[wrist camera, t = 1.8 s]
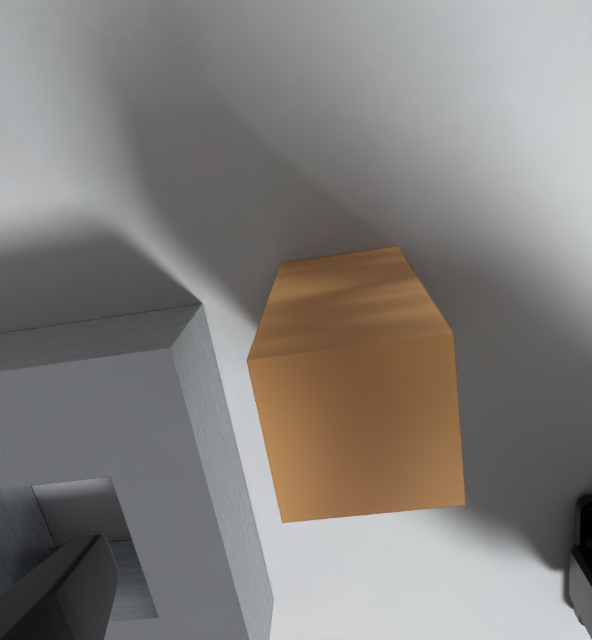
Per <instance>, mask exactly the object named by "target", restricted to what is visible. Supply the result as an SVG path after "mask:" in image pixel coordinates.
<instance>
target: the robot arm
mask: <svg viewBox="0 0 592 640" xmlns="http://www.w3.org/2000/svg"><path fill="white" fill-rule="evenodd" d="M590 507H592V494H587V495H584V496H582V497H581V498H579V500H578V501H577V503H576V515H575V545H573V546H572V548H571V550H570V558H569V596H570V599H571V601H572V602H573V604H574V612H575V615H576V617H577V619H578V621H579V622H580V623H581V624H582V625H584V626H585V627H586V629H587V631H588V633H589V635H590V637H591V638H592V509H590V510H588V509H589V508H590ZM118 583H119V571H118V567H117V564H116V562H115V559H114V556H113V553H112V551H111V548H110V545H109V542H108V540H107V538H106V536H105V535H104V534H103V533H88V534H81V535H78V536H76V537H75V538H73V539H72V540H71V541H70V542H68V543H67V544H66V545H64V546H63V547H62V548H61V549H59V550H58V551H57V552H55V553H54V554H53V555H52V556H50V557H49V558H48V559H46V560H45V561H44V562H42V563H41V564H40V565H39V566H37V567H36V568H35V569H33V570H32V571H31V572H30V573H28V574H27V575H26V576H24V577H23V578H22V579H21V580H19V581H18V582H17V583H15V584H14V585H13V586H11V587H10V588H9V589H8V590H6V591H5V592H4V593H2V594H1V595H0V640H104V639H105V635H106V631H107V627H108V623H109V619H110V615H111V612H112V608H113V604H114V600H115V596H116V592H117V588H118Z"/></svg>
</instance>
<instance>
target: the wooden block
mask: <svg viewBox="0 0 592 640" xmlns="http://www.w3.org/2000/svg"><path fill="white" fill-rule="evenodd" d="M247 364H248V369H249V374H250V378H251V383H252V387H253V392H254V396H255V401H256V405H257V410H258V415H259V419H260V424H261V428H262V433H263V437H264V442H265V447H266V451H267V456H268V460H269V465H270V469H271V474H272V479H273V483H274V488H275V492H276V497H277V501H278V506H279V510H280V515H281V520H282V523H286V522H297V521H307V520H317V519H328V518H338V517H348V516H359V515H369V514H379V513H390V512H400V511H410V510H421V509H431V508H441V507H452V506H462V505H466V502H465V488H464V474H463V460H462V445H461V431H460V417H459V403H458V389H457V374H456V360H455V346H454V333H453V331H452V330H451V328H450V327H449V325H448V323H447V322H446V320H445V319H444V317H443V316H442V314H441V313H440V311H439V309H438V308H437V306H436V305H435V303H434V302H433V300H432V298H431V297H430V295H429V294H428V292H427V291H426V289H425V288H424V286H423V284H422V283H421V281H420V280H419V278H418V277H417V275H416V274H415V272H414V270H413V269H412V267H411V266H410V264H409V263H408V261H407V259H406V258H405V256H404V255H403V253H402V252H401V250H400V249H399V247H398V246H393V247H386V248H380V249H373V250H366V251H360V252H353V253H347V254H340V255H334V256H327V257H321V258H314V259H308V260H301V261H294V262H288V263H281V264H280V267H279V269H278V272H277V275H276V278H275V281H274V284H273V287H272V289H271V292H270V295H269V298H268V301H267V304H266V307H265V309H264V312H263V315H262V318H261V321H260V324H259V327H258V329H257V332H256V335H255V338H254V341H253V344H252V346H251V349H250V352H249V355H248V358H247Z"/></svg>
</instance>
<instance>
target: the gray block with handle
mask: <svg viewBox="0 0 592 640" xmlns="http://www.w3.org/2000/svg"><path fill="white" fill-rule="evenodd" d="M103 477H111V480H112V483H113V486H114V489H115V491H116V494H117V497H118V500H119V503H120V506H121V509H122V512H123V515H124V518H125V521H126V523H127V526H128V529H129V532H130V535H131V538H132V540H127V541H116V542H109V545H110V548H111V551H112V553H113V556H114V559H115V562H116V564H117V567H118V571H119V583H118V588H117V592H116V596H115V600H114V604H113V608H112V612H111V615H110V619H109V623H108V627H107V631H106V635H105V639H104V640H269V637H270V629H271V620H272V611H273V602H274V598H273V594H272V590H271V586H270V582H269V578H268V574H267V569H266V565H265V561H264V557H263V553H262V549H261V544H260V540H259V536H258V532H257V528H256V524H255V520H254V515H253V511H252V507H251V503H250V499H249V495H248V490H247V486H246V482H245V478H244V474H243V470H242V465H241V461H240V457H239V453H238V449H237V445H236V441H235V436H234V432H233V428H232V424H231V420H230V416H229V411H228V407H227V403H226V399H225V395H224V391H223V387H222V382H221V378H220V374H219V370H218V366H217V362H216V357H215V353H214V349H213V345H212V341H211V337H210V332H209V328H208V324H207V320H206V316H205V312H204V308H203V304H198V305H191V306H184V307H177V308H170V309H164V310H157V311H150V312H143V313H136V314H129V315H123V316H116V317H109V318H102V319H95V320H89V321H82V322H75V323H68V324H61V325H55V326H48V327H41V328H34V329H27V330H21V331H14V332H7V333H0V595H1V594H2V593H4V592H5V591H6V590H8V589H9V588H10V587H11V586H13V585H14V584H15V583H17V582H18V581H19V580H21V579H22V578H23V577H24V576H26V575H27V574H28V573H30V572H31V571H32V570H33V569H35V568H36V567H37V566H39V565H40V564H41V563H42V562H44V561H45V560H46V559H48V558H49V557H50V556H52V555H53V554H54V553H55V552H57V551H58V550H59V549H61V548H62V547H56V546H55V543H54V541H53V538H52V536H51V534H50V531H49V529H48V526H47V524H46V521H45V519H44V516H43V514H42V511H41V509H40V507H39V504H38V502H37V499H36V497H35V494H34V492H33V489H32V487H31V485H40V484H49V483H58V482H67V481H76V480H85V479H94V478H103Z"/></svg>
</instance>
